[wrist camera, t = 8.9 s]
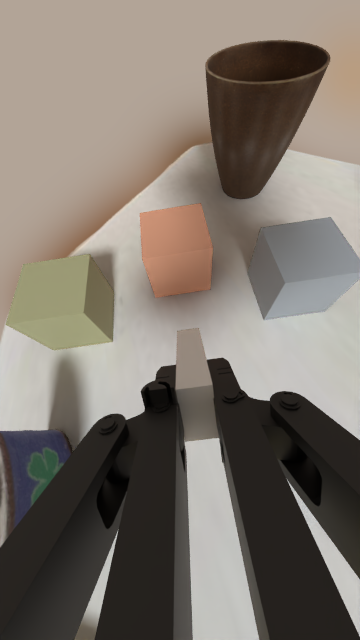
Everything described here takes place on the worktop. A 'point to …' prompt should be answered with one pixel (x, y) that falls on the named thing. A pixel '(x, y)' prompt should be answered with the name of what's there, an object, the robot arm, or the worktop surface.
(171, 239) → the terracotta block
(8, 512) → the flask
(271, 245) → the slate block
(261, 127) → the plant pot
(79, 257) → the olive block
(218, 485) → the worktop surface
